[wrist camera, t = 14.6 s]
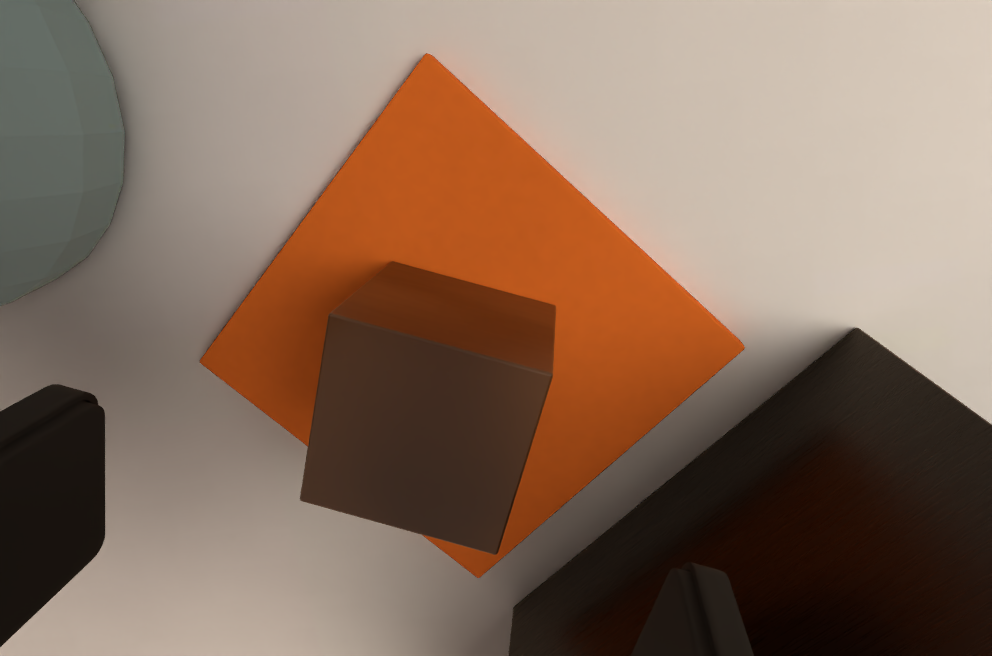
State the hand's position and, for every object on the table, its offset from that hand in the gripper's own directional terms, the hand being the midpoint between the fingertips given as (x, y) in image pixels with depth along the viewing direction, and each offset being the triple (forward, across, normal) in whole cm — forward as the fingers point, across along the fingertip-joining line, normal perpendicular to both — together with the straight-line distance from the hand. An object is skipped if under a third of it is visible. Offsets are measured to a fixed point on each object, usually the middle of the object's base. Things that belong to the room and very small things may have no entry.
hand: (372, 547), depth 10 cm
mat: (+10, 0, +1) cm, 10 cm away
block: (+9, 0, +1) cm, 9 cm away
